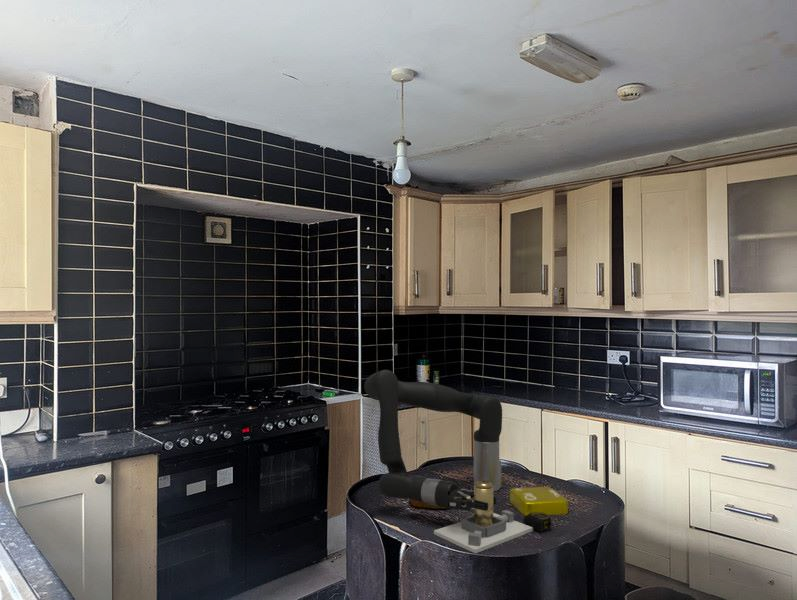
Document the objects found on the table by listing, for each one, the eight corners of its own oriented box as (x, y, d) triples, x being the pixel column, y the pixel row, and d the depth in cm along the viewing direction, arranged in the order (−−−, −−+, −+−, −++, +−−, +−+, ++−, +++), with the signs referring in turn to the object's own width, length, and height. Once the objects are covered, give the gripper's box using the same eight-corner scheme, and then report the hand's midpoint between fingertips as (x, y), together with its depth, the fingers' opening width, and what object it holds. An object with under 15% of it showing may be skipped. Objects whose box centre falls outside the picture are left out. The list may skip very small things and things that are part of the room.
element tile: (570, 514, 168) (570, 499, 168) (525, 517, 166) (524, 501, 166) (549, 498, 183) (549, 484, 183) (507, 501, 181) (507, 486, 181)
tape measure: (522, 527, 158) (521, 514, 158) (538, 522, 161) (537, 509, 161) (540, 535, 152) (539, 521, 152) (556, 529, 156) (556, 516, 156)
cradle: (490, 515, 167) (490, 503, 167) (532, 530, 154) (532, 518, 154) (433, 534, 152) (433, 521, 152) (475, 553, 139) (475, 539, 139)
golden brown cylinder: (483, 520, 157) (483, 479, 157) (497, 526, 153) (497, 483, 153) (470, 524, 154) (470, 482, 154) (484, 530, 149) (484, 487, 150)
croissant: (453, 519, 169) (456, 494, 169) (405, 508, 172) (408, 484, 172) (458, 502, 183) (461, 479, 183) (413, 493, 187) (416, 470, 187)
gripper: (427, 486, 155) (481, 497, 146) (450, 474, 167) (501, 483, 158) (427, 512, 155) (481, 525, 146) (450, 498, 167) (501, 509, 158)
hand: (491, 503), depth 152 cm, fingers closed on golden brown cylinder, 5 cm apart
